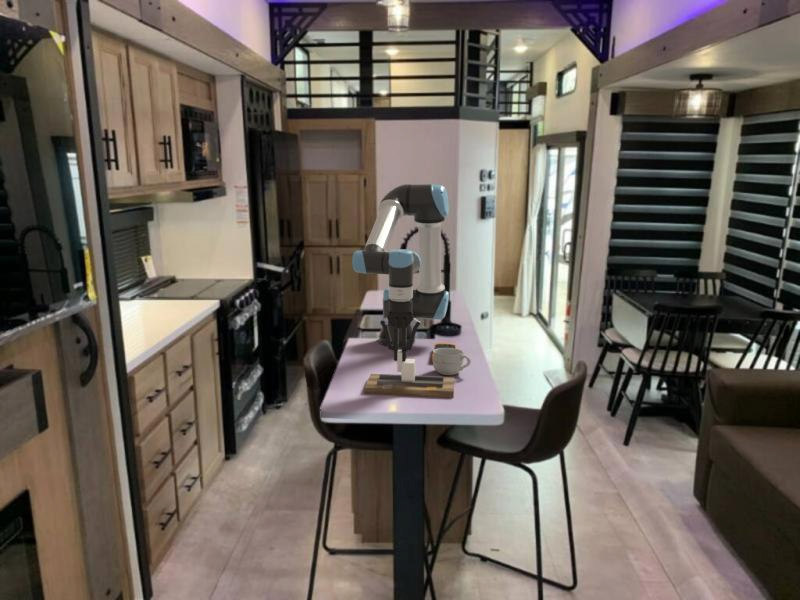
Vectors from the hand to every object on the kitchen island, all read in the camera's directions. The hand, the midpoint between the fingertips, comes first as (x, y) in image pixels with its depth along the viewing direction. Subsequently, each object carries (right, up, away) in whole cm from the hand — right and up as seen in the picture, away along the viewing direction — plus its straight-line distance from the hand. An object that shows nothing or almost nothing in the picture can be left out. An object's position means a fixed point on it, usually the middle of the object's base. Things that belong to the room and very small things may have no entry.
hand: (399, 370), depth 190 cm
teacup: (+18, -3, +15) cm, 24 cm away
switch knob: (+3, -3, +1) cm, 4 cm away
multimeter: (+17, +1, +34) cm, 38 cm away
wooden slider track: (+3, -6, +1) cm, 7 cm away
